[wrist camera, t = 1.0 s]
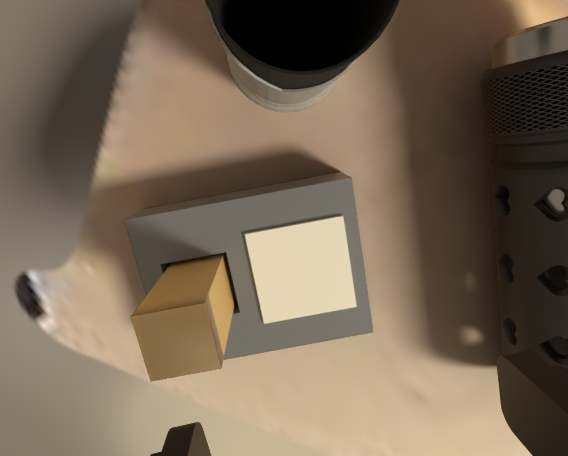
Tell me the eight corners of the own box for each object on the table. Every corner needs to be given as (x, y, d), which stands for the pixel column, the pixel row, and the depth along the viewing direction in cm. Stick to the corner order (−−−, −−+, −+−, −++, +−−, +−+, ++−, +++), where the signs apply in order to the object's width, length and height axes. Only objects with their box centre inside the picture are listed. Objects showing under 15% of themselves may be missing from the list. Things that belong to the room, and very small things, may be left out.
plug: (178, 253, 31) (130, 316, 21) (227, 244, 31) (204, 303, 21) (190, 298, 32) (150, 381, 22) (237, 290, 32) (221, 368, 21)
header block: (142, 209, 31) (122, 221, 27) (341, 171, 31) (352, 177, 26) (179, 342, 34) (166, 372, 30) (361, 309, 34) (374, 334, 29)
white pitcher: (206, 10, 28) (136, -126, 13) (396, -68, 27) (547, -305, 12) (252, 129, 30) (236, 126, 15) (430, 60, 29) (592, -14, 14)
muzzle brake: (474, 378, 36) (553, 474, 26) (447, 57, 29) (540, 17, 19) (576, 358, 36) (696, 447, 26) (573, 31, 29) (734, -22, 19)
